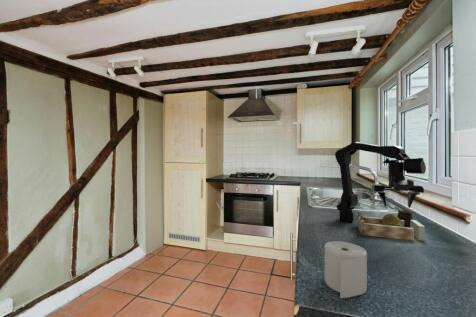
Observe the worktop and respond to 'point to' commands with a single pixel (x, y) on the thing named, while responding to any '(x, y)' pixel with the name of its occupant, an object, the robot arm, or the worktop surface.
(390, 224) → the potato
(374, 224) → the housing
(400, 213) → the mate gourd
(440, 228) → the worktop surface
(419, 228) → the pale green block
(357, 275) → the toilet tissue
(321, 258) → the worktop surface
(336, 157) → the robot arm
